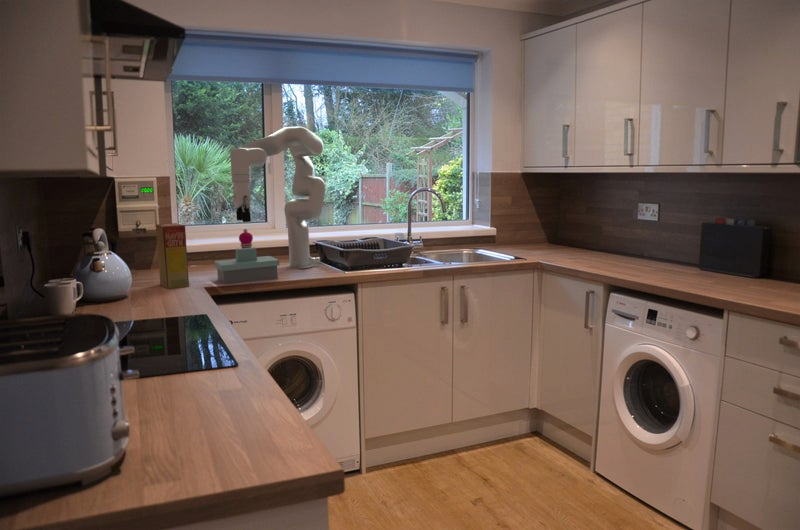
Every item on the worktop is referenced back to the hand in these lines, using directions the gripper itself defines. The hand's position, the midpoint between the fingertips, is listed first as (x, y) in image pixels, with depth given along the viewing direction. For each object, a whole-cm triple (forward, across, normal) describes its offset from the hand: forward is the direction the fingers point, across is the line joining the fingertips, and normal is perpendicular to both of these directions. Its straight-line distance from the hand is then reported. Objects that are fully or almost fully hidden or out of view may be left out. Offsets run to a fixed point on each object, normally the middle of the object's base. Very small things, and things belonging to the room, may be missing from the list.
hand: (243, 221), depth 264 cm
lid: (+19, 0, 0) cm, 19 cm away
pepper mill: (+25, -19, +5) cm, 32 cm away
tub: (+25, 0, 0) cm, 25 cm away
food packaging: (+26, -9, -28) cm, 39 cm away
